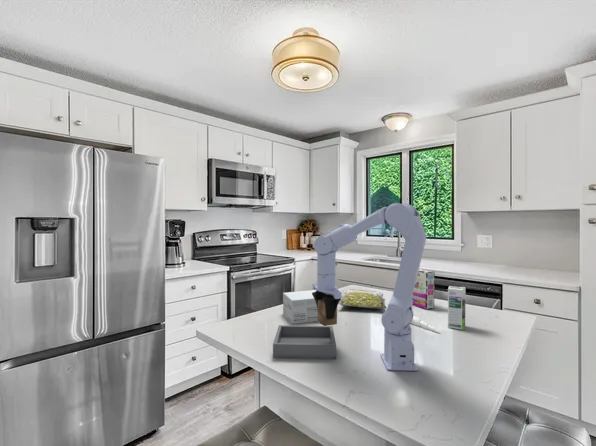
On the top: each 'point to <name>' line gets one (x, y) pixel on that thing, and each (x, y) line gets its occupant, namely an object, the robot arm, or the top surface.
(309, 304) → the supplement box
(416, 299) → the candy bar box
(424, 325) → the unicorn horn
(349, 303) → the frozen beans
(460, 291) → the syrup box
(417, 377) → the top surface
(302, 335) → the charcoal bin
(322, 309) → the walnut block
